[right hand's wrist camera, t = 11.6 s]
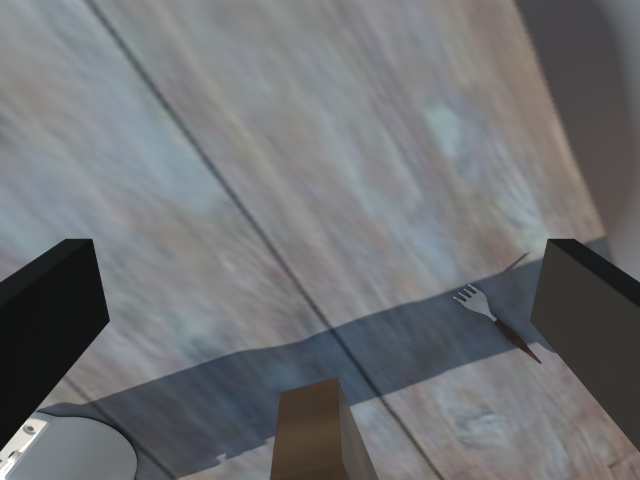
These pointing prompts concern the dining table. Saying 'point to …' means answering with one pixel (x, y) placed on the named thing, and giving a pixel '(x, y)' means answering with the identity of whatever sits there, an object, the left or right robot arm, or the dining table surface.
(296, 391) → the bar
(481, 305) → the fork
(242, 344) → the dining table surface
